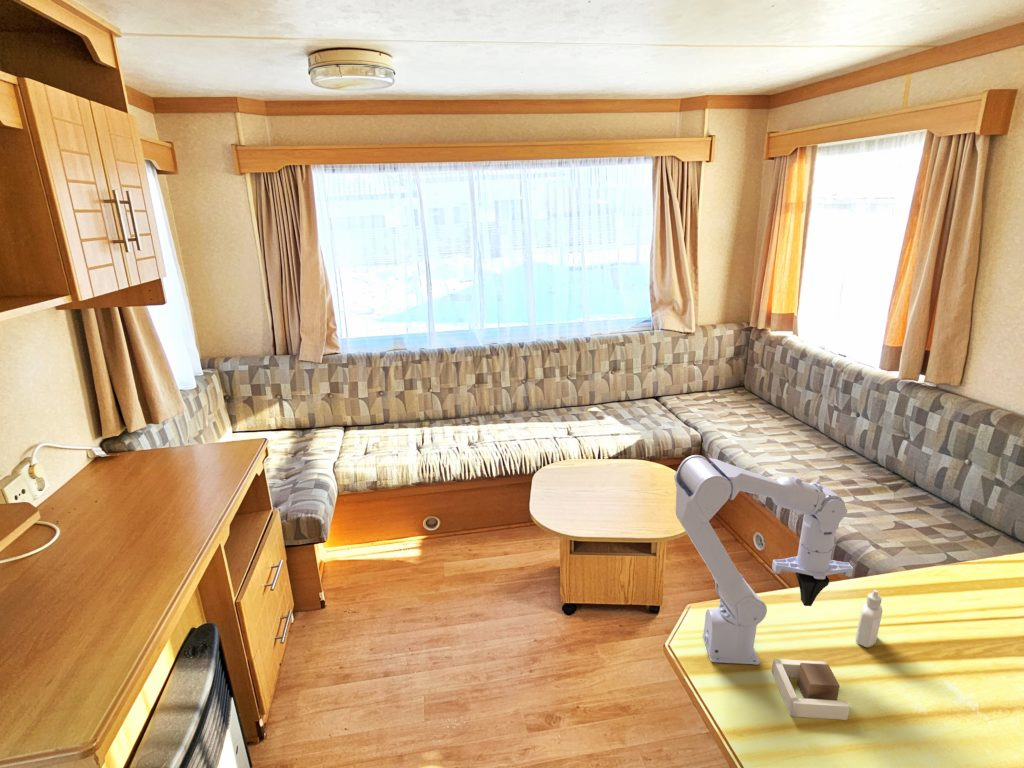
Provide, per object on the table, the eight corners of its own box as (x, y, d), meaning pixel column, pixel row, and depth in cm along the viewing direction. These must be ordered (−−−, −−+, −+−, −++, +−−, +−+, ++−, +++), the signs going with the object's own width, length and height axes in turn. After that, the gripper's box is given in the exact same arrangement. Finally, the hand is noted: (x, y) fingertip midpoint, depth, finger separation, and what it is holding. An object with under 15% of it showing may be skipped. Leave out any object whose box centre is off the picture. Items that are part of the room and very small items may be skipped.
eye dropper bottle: (885, 644, 121) (896, 595, 117) (862, 649, 120) (873, 600, 116) (868, 629, 125) (878, 582, 121) (846, 634, 124) (855, 586, 120)
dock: (790, 716, 105) (793, 703, 104) (771, 671, 114) (773, 658, 114) (847, 719, 104) (849, 706, 103) (822, 674, 114) (825, 661, 113)
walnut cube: (806, 705, 107) (810, 683, 105) (796, 683, 112) (800, 662, 110) (835, 707, 106) (839, 685, 105) (824, 685, 111) (828, 664, 110)
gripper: (784, 555, 111) (775, 614, 115) (864, 558, 110) (852, 618, 114) (772, 534, 118) (764, 591, 122) (847, 537, 117) (837, 594, 121)
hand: (806, 602), depth 119 cm, fingers closed
